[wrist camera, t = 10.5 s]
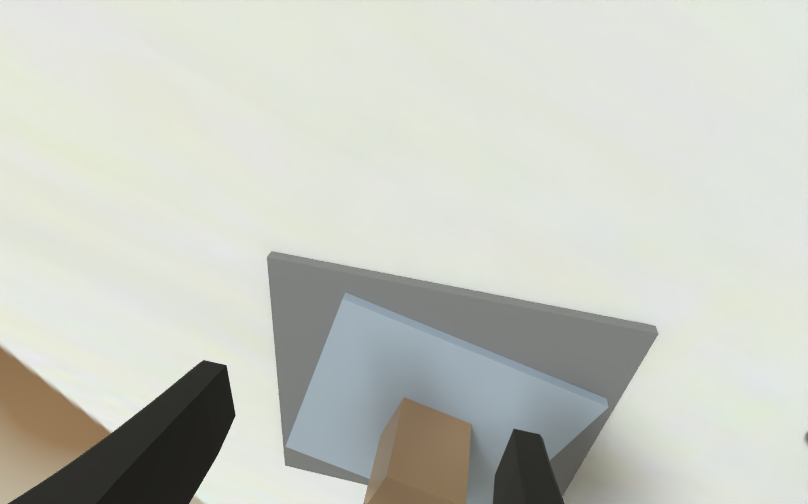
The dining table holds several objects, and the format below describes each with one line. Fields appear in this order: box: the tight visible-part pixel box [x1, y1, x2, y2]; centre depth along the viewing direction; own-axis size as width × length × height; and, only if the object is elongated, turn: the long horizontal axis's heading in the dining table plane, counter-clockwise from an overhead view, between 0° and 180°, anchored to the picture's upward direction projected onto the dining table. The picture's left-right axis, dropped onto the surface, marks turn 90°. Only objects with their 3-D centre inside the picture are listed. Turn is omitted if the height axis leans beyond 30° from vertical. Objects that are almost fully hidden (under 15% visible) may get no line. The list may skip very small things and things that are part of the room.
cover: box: [285, 293, 609, 504], centre depth 24 cm, size 14×14×5 cm
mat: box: [267, 251, 658, 496], centre depth 26 cm, size 18×18×1 cm
